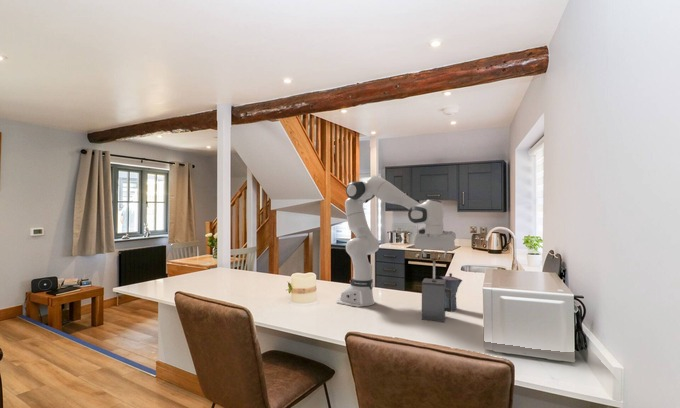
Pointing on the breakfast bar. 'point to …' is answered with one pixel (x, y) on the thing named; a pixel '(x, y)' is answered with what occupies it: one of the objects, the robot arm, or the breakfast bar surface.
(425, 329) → the breakfast bar surface
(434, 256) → the plunger
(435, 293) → the tall grey box
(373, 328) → the breakfast bar surface
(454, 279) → the moka pot
